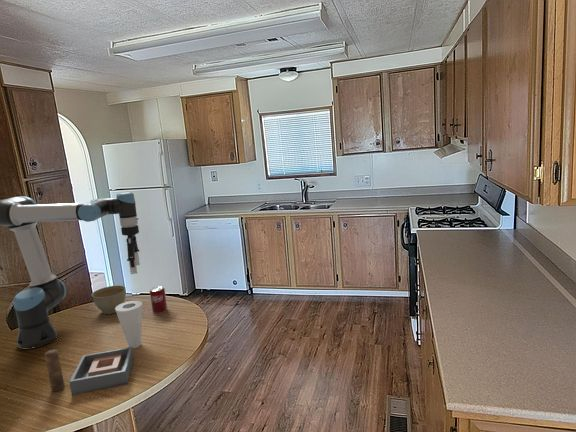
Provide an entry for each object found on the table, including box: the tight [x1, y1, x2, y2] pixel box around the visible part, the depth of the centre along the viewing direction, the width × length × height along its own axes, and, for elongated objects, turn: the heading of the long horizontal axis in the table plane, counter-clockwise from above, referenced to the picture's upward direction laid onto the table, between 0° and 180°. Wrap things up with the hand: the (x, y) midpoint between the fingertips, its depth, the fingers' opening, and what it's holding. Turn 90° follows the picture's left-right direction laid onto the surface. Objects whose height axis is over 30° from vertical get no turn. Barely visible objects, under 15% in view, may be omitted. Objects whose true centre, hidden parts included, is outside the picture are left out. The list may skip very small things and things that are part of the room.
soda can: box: [149, 286, 168, 315], centre depth 200 cm, size 7×7×12 cm
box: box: [69, 346, 135, 395], centre depth 145 cm, size 18×18×5 cm
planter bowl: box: [91, 285, 127, 315], centre depth 205 cm, size 16×16×11 cm
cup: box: [115, 300, 143, 349], centre depth 165 cm, size 11×11×18 cm
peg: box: [44, 348, 65, 393], centre depth 138 cm, size 4×4×14 cm
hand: (135, 269), depth 186 cm, fingers open, 13 cm apart
